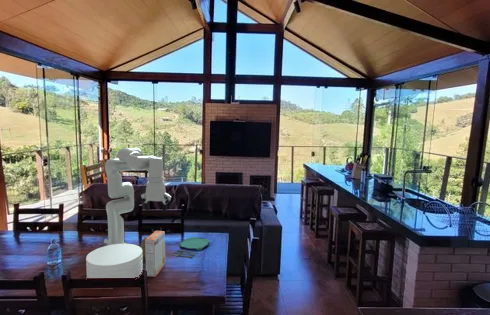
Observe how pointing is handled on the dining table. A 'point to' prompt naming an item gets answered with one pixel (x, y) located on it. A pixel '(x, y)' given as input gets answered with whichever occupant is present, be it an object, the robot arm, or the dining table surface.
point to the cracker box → (155, 253)
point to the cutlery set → (192, 245)
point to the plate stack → (115, 261)
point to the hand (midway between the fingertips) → (156, 210)
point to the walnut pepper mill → (143, 249)
